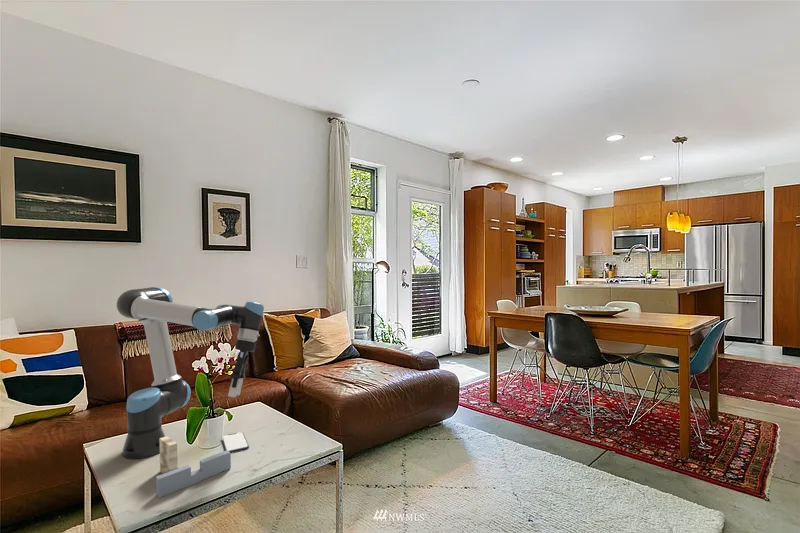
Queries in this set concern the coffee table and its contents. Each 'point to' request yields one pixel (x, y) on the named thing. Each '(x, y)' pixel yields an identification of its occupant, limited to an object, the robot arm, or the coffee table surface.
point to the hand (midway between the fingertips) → (233, 395)
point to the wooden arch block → (168, 454)
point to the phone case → (235, 442)
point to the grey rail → (192, 473)
